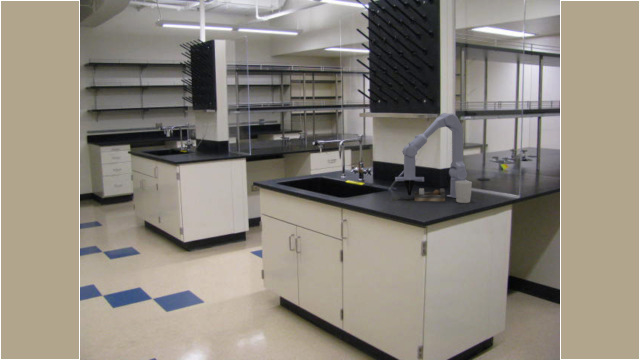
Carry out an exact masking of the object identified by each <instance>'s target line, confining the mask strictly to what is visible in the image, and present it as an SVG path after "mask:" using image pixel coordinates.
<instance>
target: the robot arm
mask: <svg viewBox="0 0 640 360" xmlns="http://www.w3.org/2000/svg"><path fill="white" fill-rule="evenodd" d="M445 127H446V128H448V129H449V130H450V131H451V134H452V135H451V136H452V138H451V141H452V142H451V144H452V145H451V148H452V151H451V152H452V154H451V155H452V157H451V158H452V159H451V160H452V162H451V163H450V168H449V170H448V175H449V177H450V192H449V193H450V194H447V195H446V197H449V198H454V199H456V188H455V182H456V181H469V179H468V180H467V179H466V178H467V176H468V172H467V169H466V164H465V162H464V131H463V130H464V129H463V128H464V126H463V125H462V123H461V122H460V120H459V117H458V116H457V115H456V114H454V113H447V112H444V113H440V114H439V116H437V117H436V118H435V119H434V121H433V122H432V123H431V124H430V125H429V126H428V127H427V128H426V130H425V131H424V132H423V133H420V134H416V135H414V138H413V139H412V140H411V142H410V141H409V142H408V144H407V145H405V146H404V147H403V149H402V151H401V152H402V155H404V157H403V176H395V177H394V179H395V180H394V181H395V182H404V185H405V187H406V190H407V191H406V192H407V196H412V191H413V188H414V185H415V183H416V182H425V177H424V176H416V156H417V154H418V152H419V151H420V149H422V147H423V146H425V145H426V144H427V142H428V138H429V137H430V136H432V135H433V134H435V132H436V131H438V129H441V128H445Z"/></svg>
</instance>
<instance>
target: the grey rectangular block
mask: <svg viewBox="0 0 640 360" xmlns="http://www.w3.org/2000/svg"><path fill="white" fill-rule="evenodd" d="M418 188H419V187H418ZM418 192H419V195H424V192H425V188H423V187H422V188H421V187H420V188H419V189H418Z"/></svg>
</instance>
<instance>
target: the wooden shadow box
mask: <svg viewBox="0 0 640 360" xmlns="http://www.w3.org/2000/svg"><path fill="white" fill-rule="evenodd" d="M414 202H446V190H445V188H441V187H440V188H439V189H435V190H433V191H424V195H419V191H414Z"/></svg>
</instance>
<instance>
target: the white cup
mask: <svg viewBox="0 0 640 360" xmlns="http://www.w3.org/2000/svg"><path fill="white" fill-rule="evenodd" d="M472 184H473V182H472V181H469V180H468V181H456V182H455V188H456V198H455V202H457V203H460V204H468V203H471V198H472V188H473V187H472V186H473V185H472Z"/></svg>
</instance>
